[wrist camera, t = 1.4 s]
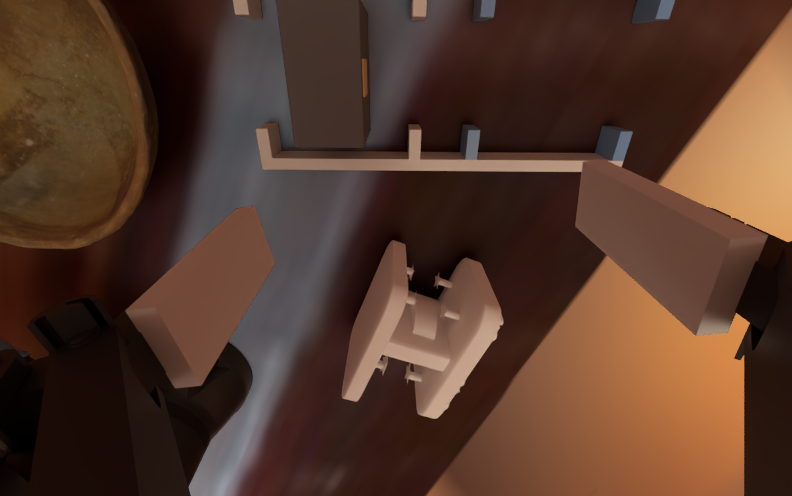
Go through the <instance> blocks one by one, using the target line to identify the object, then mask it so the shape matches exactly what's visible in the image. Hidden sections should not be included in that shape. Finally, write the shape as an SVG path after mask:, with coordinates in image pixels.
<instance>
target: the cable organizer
mask: <svg viewBox="0 0 792 496" xmlns="http://www.w3.org/2000/svg"><path fill="white" fill-rule="evenodd" d="M413 265H414V264H413ZM413 272H414V270H413V266H412V268H409V267H407V260H406V246H405V244H403V243H400V242H398V241H395V240H392V241H391V242H390V243H389V245H388V246H387V248H386V250H385V253H384V255H383V257H382V259H381V262H380V264H379V266H378V269H377V271H376V273H375V276H374V278H373V280H372V283H371V285H370V287H369V290H368V292H367V294H366V297H365V299H364V301H363V304H362V306H361V308H360V311H359V313H358V315H357V318H356V320H355V323H354V326H353V329H352V333H351V338H350V344H349V350H348V356H347V363H346V369H345V375H344V381H343V388H342V398H343V399H347V400H351V401H355V402H356V401H358V400H359V398H360V397H361V395H362V393H363V391H364V389H365V387H366V385H367V383H368V381H369V379H370V377H371V375H372V373H373V371H374V369H375V368H380V369H381V370H382V374H383V373H384V371H385V369H386V366H387V364H388V362H387V361H388V356H389V357H392V358H396V359H399V360H403V361H406V362H410V363H414V372H411V371H410V364H409V367H408V366H407V372H406V376H405V378H407V383H408V379H411V380H415V391H416V407H417V412H418V414H419V415H422V416H426V417H429V418H433V419H436V418H438V417H439V416H440V415H441V414H442V413H443V411H444V410H447V408H448V407H449V403H450V401H451V400H452V399H453V397H454V396H455V394H456V393H457V392H460V390H459V388H460V387H461V386H463V385H464V384H465V380H466V378H467V377H468V375H469V374H470V373H471V371H472V370H473V368H474V367H475V365H476V364H477V363H478V361H479V360H480V358H481V357H482V356H483V354H484V352H485V351H486V350H487V348H488V347H489V345H490V344H491V342H492V341H493V340H494V341H495V339H496V338H497V331H498V329H500V327H499V326H500V325H503V317H502V315H501V309H500V306H499V304H498V301H497V299H496V297H495V295H494V292H493V290H492V288H491V285H490V283H489V281H488V278H487V276H486V274H485V271H484V269H483V267H482V265H481V263H480V262H477V261H474V260H471V259H469V258H464V259H462V260H461V261H460V262H459V264H458V265H457V266H456V268H455V270H454V271H453V273H452V275H451V277H450V279H449V280H445V279H442V278H440V277H439V273H438V275H437V276H435V284H434V286H437V289H438V284H439V285H442V286H445V288H444V289H443V291H442V293H441V295H440V297H439V298H438V300H436V299H433V298H430V297H427V296H424V295H420V294H417V293H414V292H411V291H408V279H409V278H410V280H411V278H412V274H413ZM407 274H408V275H409V278H408V277H407ZM382 355H385V356H386V357H383V361H380V358H381V356H382ZM381 370H380V371H381Z"/></svg>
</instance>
